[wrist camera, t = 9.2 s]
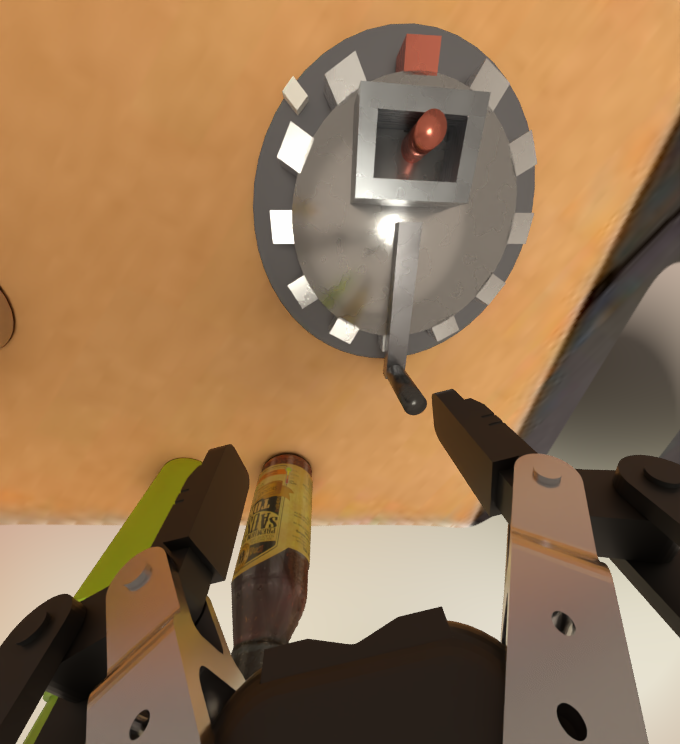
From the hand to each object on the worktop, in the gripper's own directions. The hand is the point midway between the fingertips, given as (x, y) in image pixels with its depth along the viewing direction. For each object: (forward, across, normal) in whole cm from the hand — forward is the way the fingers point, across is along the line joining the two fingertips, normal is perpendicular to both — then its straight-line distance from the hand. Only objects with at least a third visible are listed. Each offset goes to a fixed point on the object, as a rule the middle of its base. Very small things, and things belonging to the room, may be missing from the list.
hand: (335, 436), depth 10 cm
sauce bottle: (+16, +9, +16) cm, 25 cm away
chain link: (+12, -8, -10) cm, 18 cm away
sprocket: (+14, -8, -5) cm, 17 cm away
